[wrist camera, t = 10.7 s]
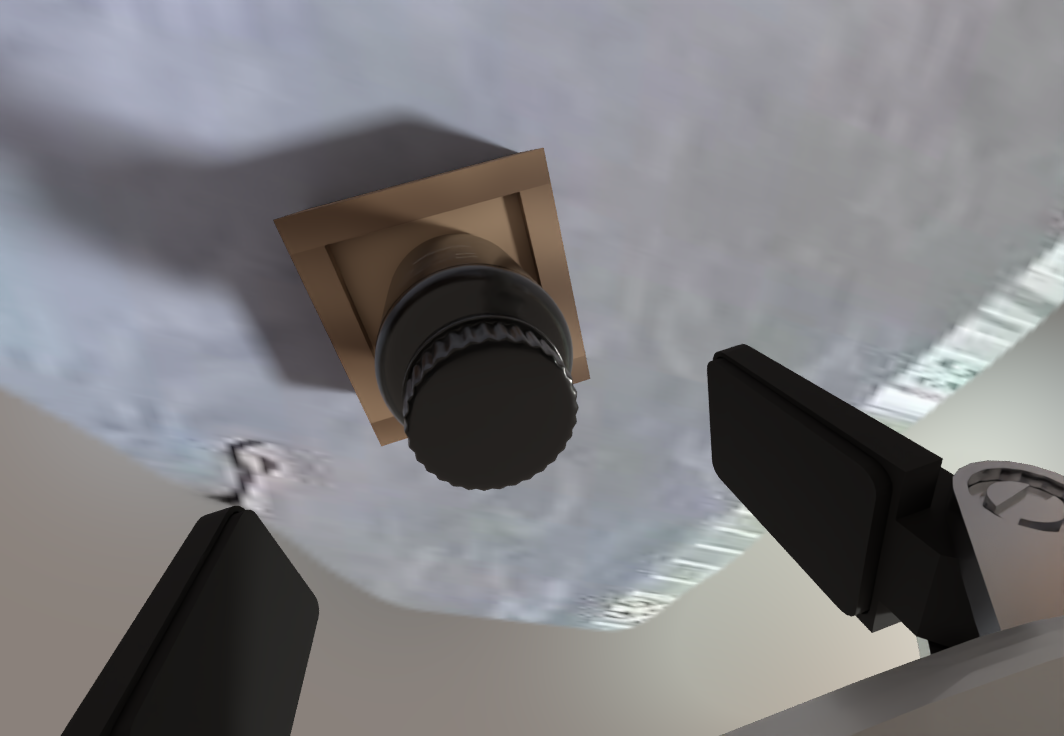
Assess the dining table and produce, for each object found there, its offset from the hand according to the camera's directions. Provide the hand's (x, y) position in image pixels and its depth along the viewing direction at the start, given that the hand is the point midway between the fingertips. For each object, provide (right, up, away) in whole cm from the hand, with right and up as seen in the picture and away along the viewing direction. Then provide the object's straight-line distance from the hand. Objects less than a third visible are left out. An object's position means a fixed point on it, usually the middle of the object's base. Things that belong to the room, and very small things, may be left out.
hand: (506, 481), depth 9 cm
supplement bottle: (-3, +6, +14) cm, 15 cm away
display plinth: (-5, +7, +18) cm, 20 cm away
